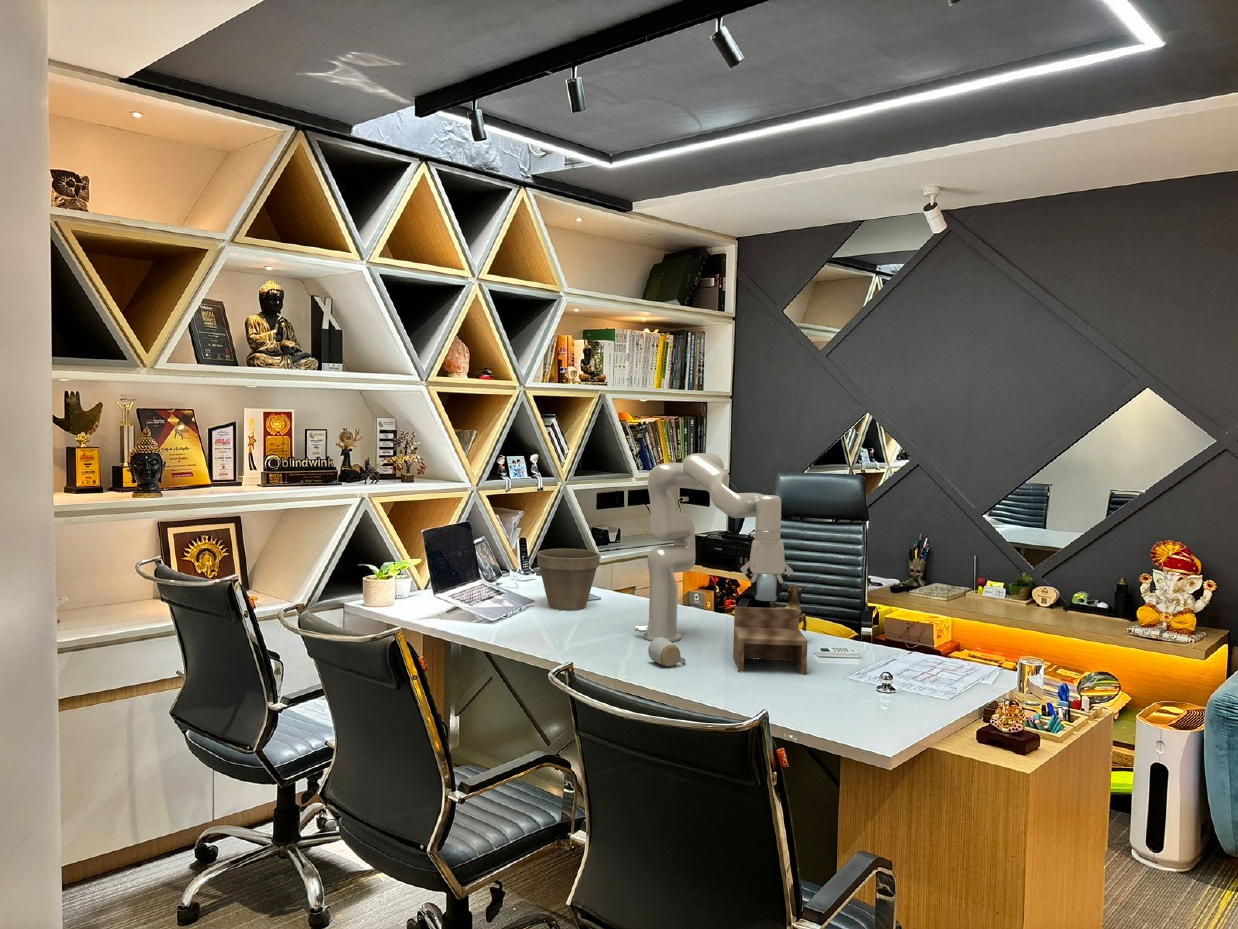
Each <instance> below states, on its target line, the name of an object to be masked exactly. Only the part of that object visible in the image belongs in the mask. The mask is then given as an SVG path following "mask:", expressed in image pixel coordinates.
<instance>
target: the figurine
mask: <svg viewBox="0 0 1238 929" xmlns="http://www.w3.org/2000/svg"><path fill="white" fill-rule="evenodd" d="M802 590H803V589H802V588H801V587H800V585H798V584H795V583H794V584H790V585H789V586H788V589H787V592H786V593H787V595H786V598H787V600H788V603H787V605H786V606H783V607H782V606H776V601H777V600H775V601H769V603H770V604H769V605H770V608H786V609H799V624H801V623H802V627H801V629H802V631H803V632H807V625H808V622H807V616H806V614H805V613H802V608H801V604H800V602H801V599H802V597H803V591H802Z"/></svg>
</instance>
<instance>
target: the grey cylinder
mask: <svg viewBox="0 0 1238 929" xmlns="http://www.w3.org/2000/svg"><path fill="white" fill-rule="evenodd" d="M777 580H778V579H777V575H774V574H757V578H756V595H755V596H754V597H755V598H754V599H755V600H757V601H761V602H770V601H775V600H776V601H777V597H778V596H777ZM776 601H775V602H776Z"/></svg>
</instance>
